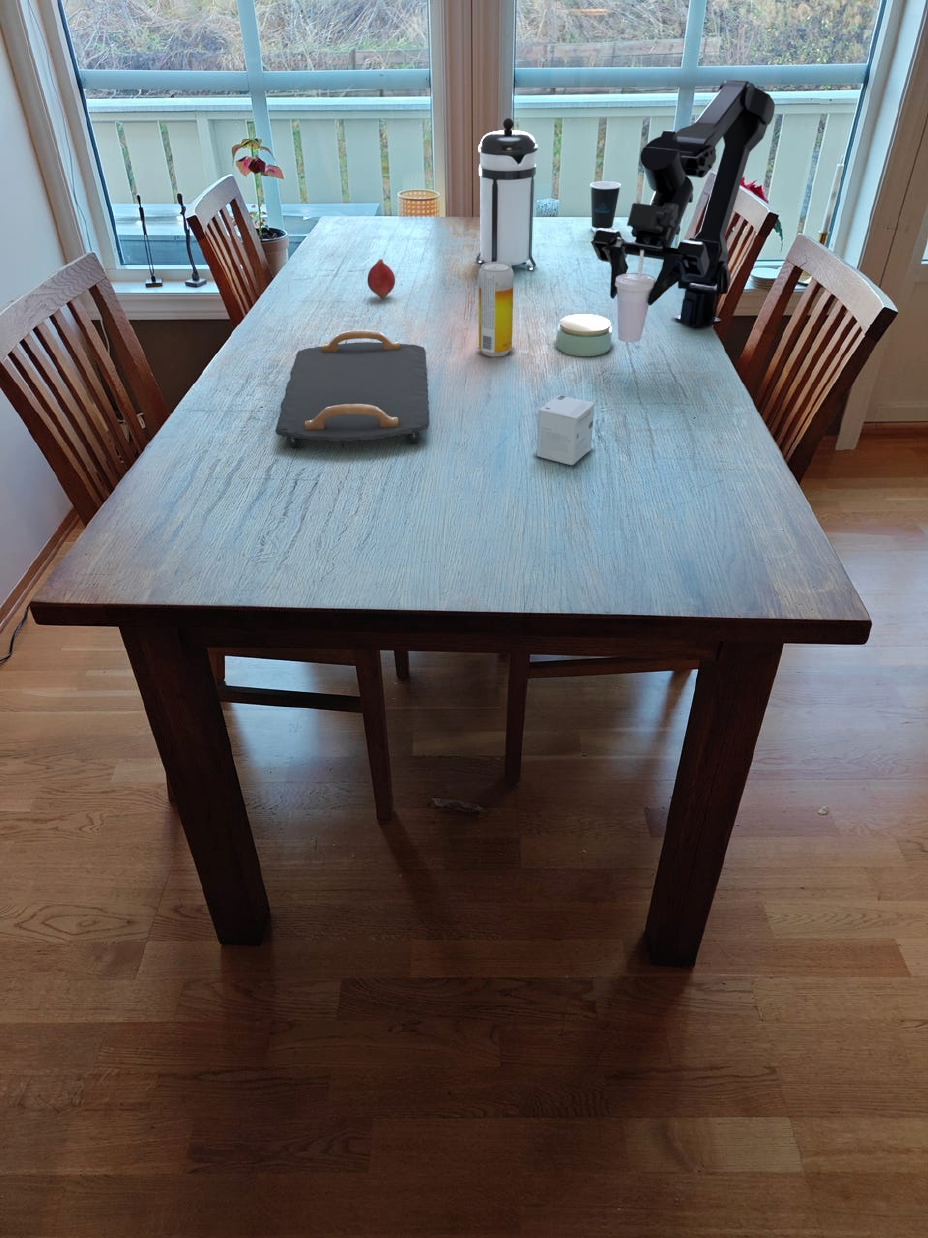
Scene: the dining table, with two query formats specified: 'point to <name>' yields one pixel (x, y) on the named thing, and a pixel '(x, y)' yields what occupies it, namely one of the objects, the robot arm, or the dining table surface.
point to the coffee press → (507, 196)
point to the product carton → (565, 429)
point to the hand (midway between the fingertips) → (630, 300)
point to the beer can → (495, 308)
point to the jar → (584, 335)
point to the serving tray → (356, 391)
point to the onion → (381, 279)
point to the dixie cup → (603, 203)
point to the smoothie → (633, 302)
